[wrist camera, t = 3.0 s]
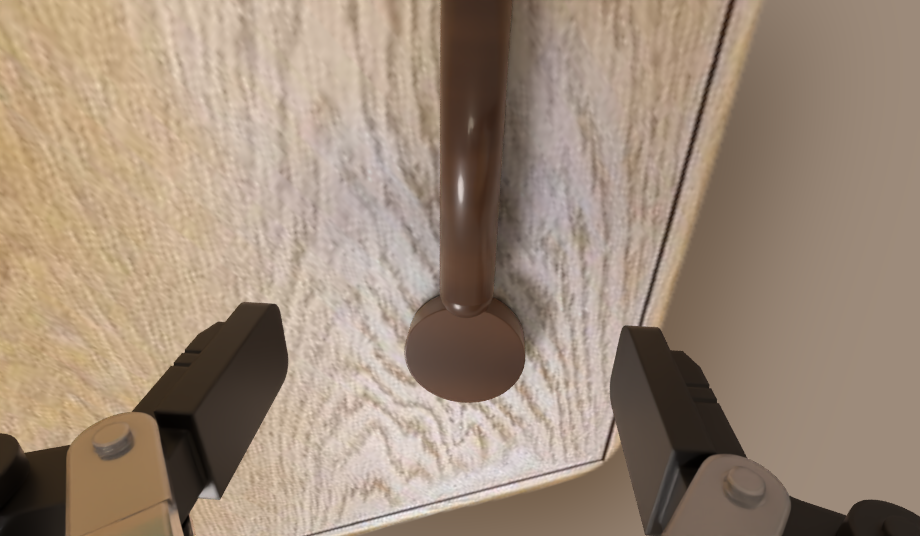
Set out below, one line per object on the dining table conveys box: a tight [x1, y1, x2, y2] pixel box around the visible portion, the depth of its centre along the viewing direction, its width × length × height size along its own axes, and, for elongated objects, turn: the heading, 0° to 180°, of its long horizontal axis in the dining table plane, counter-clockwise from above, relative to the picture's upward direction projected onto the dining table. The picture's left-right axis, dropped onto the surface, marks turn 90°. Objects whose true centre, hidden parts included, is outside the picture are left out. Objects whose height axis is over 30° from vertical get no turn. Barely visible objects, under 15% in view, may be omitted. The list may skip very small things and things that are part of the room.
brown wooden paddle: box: [405, 0, 525, 403], centre depth 17 cm, size 17×5×2 cm, turn 179°
